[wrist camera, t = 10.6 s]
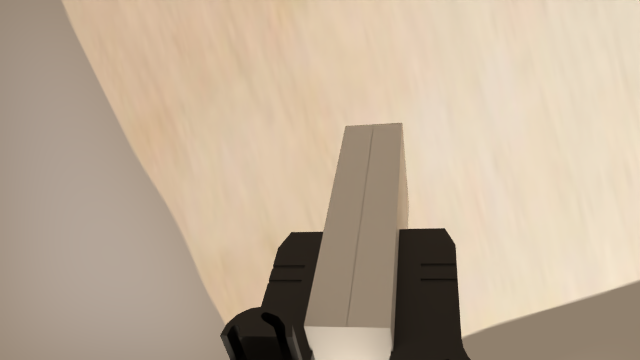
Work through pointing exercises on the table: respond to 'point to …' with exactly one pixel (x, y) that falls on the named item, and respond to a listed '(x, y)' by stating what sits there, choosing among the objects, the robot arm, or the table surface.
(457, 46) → the table surface
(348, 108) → the table surface
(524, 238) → the table surface
